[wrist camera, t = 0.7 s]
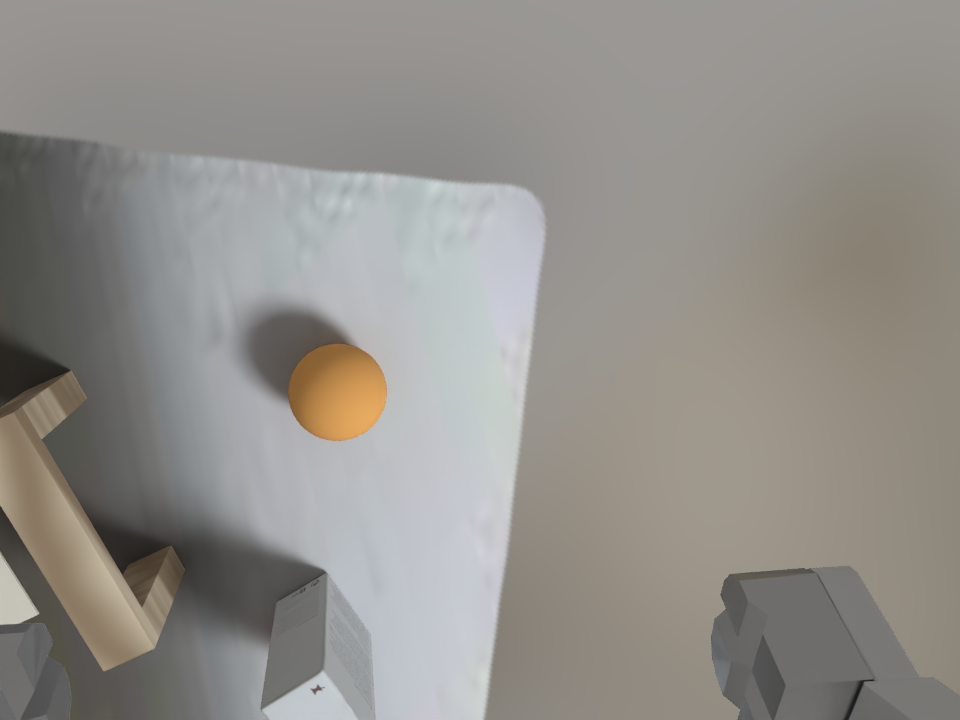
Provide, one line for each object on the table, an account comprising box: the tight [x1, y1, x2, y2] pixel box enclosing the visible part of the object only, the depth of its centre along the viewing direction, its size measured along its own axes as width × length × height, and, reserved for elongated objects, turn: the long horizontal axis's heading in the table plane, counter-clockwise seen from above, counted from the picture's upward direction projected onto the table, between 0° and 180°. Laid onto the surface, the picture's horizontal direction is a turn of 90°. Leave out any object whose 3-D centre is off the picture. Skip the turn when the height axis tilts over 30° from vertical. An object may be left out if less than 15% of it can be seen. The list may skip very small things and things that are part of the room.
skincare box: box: [261, 573, 376, 720], centre depth 53 cm, size 6×4×12 cm
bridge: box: [0, 371, 185, 671], centre depth 50 cm, size 3×15×10 cm, turn 23°
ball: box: [288, 344, 387, 441], centre depth 53 cm, size 6×6×6 cm
